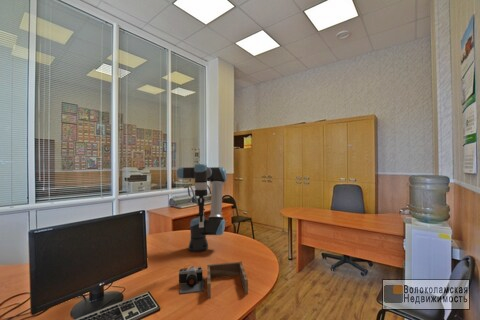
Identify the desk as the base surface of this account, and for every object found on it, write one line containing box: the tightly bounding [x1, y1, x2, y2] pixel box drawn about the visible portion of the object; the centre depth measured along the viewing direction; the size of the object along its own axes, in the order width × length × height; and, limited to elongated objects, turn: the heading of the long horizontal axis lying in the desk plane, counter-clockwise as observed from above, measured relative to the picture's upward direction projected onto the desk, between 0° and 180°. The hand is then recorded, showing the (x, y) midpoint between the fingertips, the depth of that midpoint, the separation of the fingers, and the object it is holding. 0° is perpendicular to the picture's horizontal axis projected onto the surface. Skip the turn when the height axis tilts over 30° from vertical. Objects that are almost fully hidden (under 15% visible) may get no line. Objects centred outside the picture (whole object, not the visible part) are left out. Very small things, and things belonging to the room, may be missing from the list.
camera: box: [178, 265, 203, 287], centre depth 117 cm, size 13×8×9 cm, turn 102°
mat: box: [179, 275, 205, 295], centre depth 117 cm, size 14×12×1 cm
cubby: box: [206, 261, 249, 299], centre depth 116 cm, size 20×20×7 cm
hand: (201, 224), depth 132 cm, fingers open, 13 cm apart
